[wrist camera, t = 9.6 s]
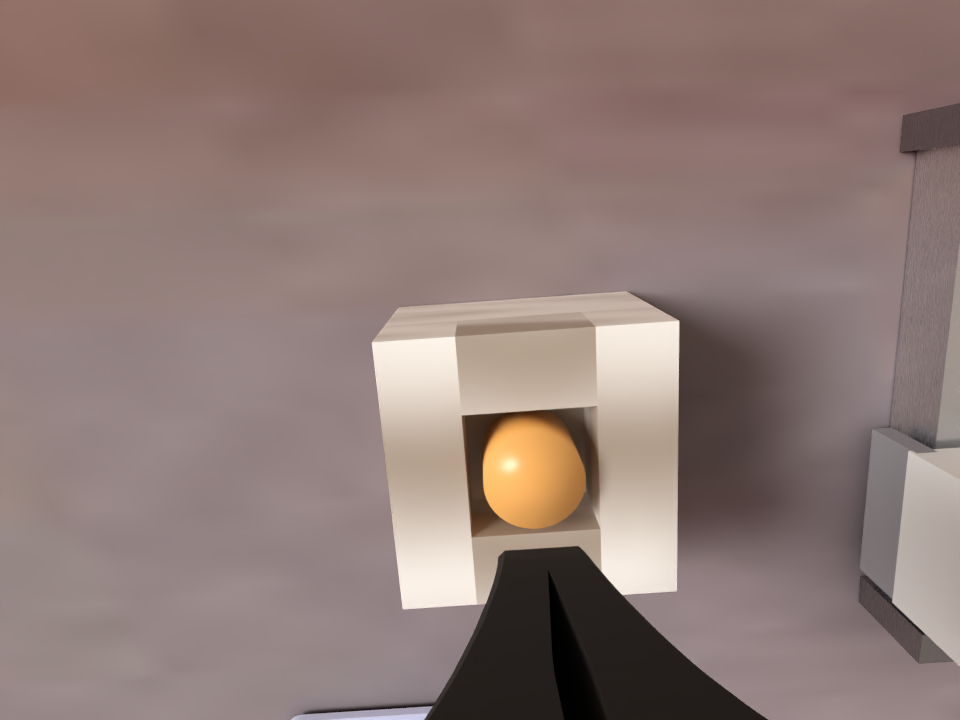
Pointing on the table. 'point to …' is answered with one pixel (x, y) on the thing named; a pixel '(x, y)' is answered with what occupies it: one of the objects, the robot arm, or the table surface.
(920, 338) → the rail
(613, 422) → the cream cage with ball
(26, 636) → the table surface
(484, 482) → the plunger
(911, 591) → the block
